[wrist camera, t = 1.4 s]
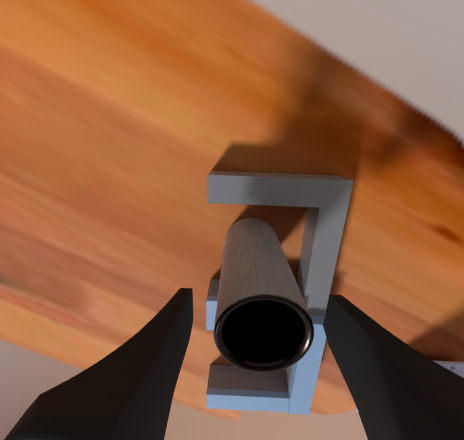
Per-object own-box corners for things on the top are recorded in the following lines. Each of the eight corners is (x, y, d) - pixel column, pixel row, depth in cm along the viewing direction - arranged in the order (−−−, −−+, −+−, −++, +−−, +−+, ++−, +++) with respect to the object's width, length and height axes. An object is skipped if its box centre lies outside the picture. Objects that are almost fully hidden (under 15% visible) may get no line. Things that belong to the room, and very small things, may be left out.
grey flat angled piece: (338, 175, 18) (353, 180, 15) (299, 381, 25) (305, 406, 23) (211, 170, 18) (207, 174, 15) (210, 377, 25) (207, 401, 23)
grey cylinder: (231, 268, 21) (227, 380, 11) (219, 223, 19) (200, 306, 10) (280, 258, 20) (320, 366, 11) (271, 211, 19) (308, 286, 9)
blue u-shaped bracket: (327, 301, 19) (332, 309, 18) (305, 406, 23) (308, 417, 22) (207, 295, 19) (205, 304, 18) (207, 401, 23) (206, 412, 22)
